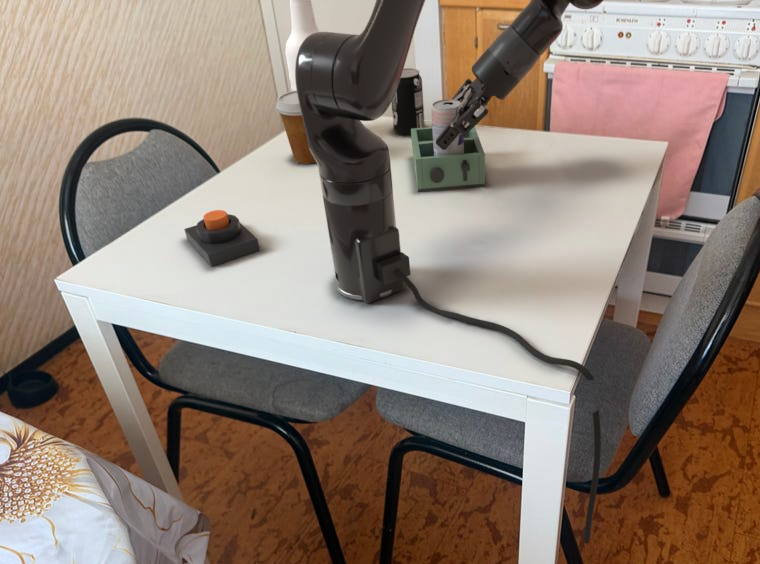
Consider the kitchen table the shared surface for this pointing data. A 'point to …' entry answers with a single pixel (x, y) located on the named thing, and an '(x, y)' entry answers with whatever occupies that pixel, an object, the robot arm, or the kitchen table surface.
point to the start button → (216, 219)
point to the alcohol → (299, 33)
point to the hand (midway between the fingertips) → (438, 139)
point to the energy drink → (445, 126)
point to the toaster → (447, 163)
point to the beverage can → (408, 103)
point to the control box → (222, 241)
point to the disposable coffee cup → (294, 127)
